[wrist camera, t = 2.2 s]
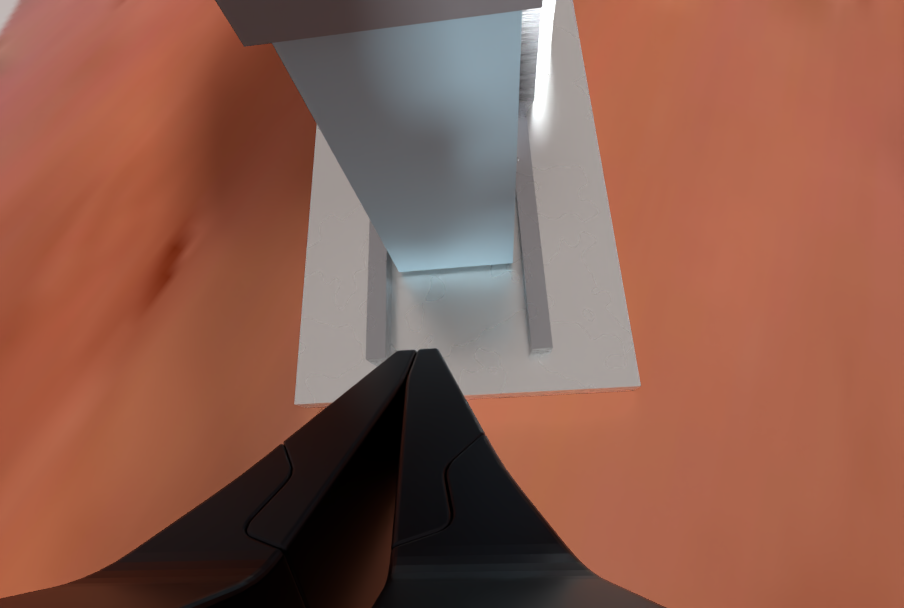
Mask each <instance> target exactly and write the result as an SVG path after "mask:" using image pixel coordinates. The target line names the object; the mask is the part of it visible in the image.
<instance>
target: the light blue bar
mask: <svg viewBox="0 0 904 608" xmlns="http://www.w3.org/2000/svg"><path fill="white" fill-rule="evenodd" d="M215 1H216V2H217V4H218V6H219V7H220V9H221V10H222V12H223V13H224V15H225V17H226V18H227V20H228V21H229V23H230V25H231V26H232V28H233V29H234V31H235V33H236V34H237V36H238V37H239V39H240V41H241V42H242V44H243V45H244V47H245V46H252V45H260V44H268V43H272V44H273V46H274V48H275V49H276V51H277V53H278V55H279V57H280V58H281V60H282V62H283V64H284V66H285V67H286V69H287V71H288V73H289V75H290V76H291V78H292V80H293V82H294V84H295V85H296V87H297V89H298V91H299V93H300V94H301V96H302V98H303V100H304V102H305V103H306V105H307V107H308V109H309V111H310V112H311V114H312V116H313V118H314V120H315V121H316V123H317V125H318V127H319V129H320V130H321V132H322V134H323V136H324V138H325V139H326V141H327V143H328V145H329V147H330V148H331V150H332V152H333V154H334V156H335V157H336V159H337V161H338V163H339V165H340V166H341V168H342V170H343V172H344V174H345V175H346V177H347V179H348V181H349V183H350V185H351V186H352V188H353V190H354V192H355V194H356V195H357V197H358V199H359V201H360V203H361V204H362V206H363V208H364V210H365V212H366V213H367V215H368V217H369V219H370V221H371V222H372V224H373V226H374V228H375V230H376V231H377V233H378V235H379V237H380V239H381V240H382V242H383V244H384V246H385V248H386V249H387V251H388V253H389V255H390V257H391V258H392V260H393V262H394V264H395V266H396V267H397V269H398V271H399V272H407V271H419V270H432V269H444V268H457V267H470V266H482V265H495V264H507V263H513V244H514V217H515V190H516V163H517V136H518V109H519V82H520V55H521V28H522V10H528V9H536V8H542V6H543V0H215Z"/></svg>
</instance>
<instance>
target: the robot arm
mask: <svg viewBox="0 0 904 608" xmlns="http://www.w3.org/2000/svg"><path fill="white" fill-rule="evenodd" d="M0 608H666V607H664V606H662V605H660V604H657V603H655V602H653V601H651V600H649V599H646V598H644V597H642V596H640V595H638V594H635V593H633V592H631V591H629V590H627V589H624V588H622V587H620V586H618V585H616V584H613V583H611V582H609V581H607V580H605V579H603V578H601V577H599V576H598V575H596V574H595V573H593V572H592V571H591V570H590V569H588V568H587V567H586V566H585V565H584V564H583V563H582V562H581V561H580V560H579V559H578V558H577V557H576V556H575V555H574V554H573V553H572V552H571V550H570V549H569V548H568V547H567V546H566V544H565V543H564V542H563V541H562V540H561V538H560V537H559V536H558V535H557V533H556V532H555V531H554V530H553V528H552V527H551V526H550V525H549V523H548V522H547V521H546V520H545V518H544V517H543V516H542V515H541V513H540V512H539V511H538V510H537V508H536V507H535V506H534V505H533V503H532V502H531V501H530V500H529V498H528V497H527V496H526V495H525V493H524V492H523V491H522V490H521V488H520V487H519V486H518V484H517V483H516V482H515V480H514V479H513V478H512V476H511V475H510V474H509V472H508V471H507V470H506V468H505V467H504V465H503V463H502V462H501V460H500V459H499V457H498V455H497V454H496V452H495V450H494V449H493V447H492V445H491V443H490V442H489V440H488V438H487V436H485V433H484V431H483V429H482V428H481V426H480V424H479V422H478V420H477V418H476V417H475V415H474V413H473V411H472V409H471V408H470V406H469V404H468V402H467V400H466V399H465V397H464V395H463V393H462V391H461V389H460V388H459V386H458V384H457V382H456V380H455V379H454V377H453V375H452V373H451V371H450V369H449V368H448V366H447V364H446V362H445V360H444V359H443V357H442V355H441V353H440V351H439V350H438V349H437V348H429V349H419V350H418V351H416V350H399V351H396V352H395V353H393V354H392V355H391V356H390V357H388V358H387V359H386V360H385V361H384V362H382V363H381V364H380V365H379V366H377V367H376V368H375V369H374V370H372V371H371V372H370V373H369V374H367V375H366V376H365V377H364V378H362V379H361V380H360V381H359V382H357V383H356V384H355V385H354V386H352V387H351V388H350V389H349V390H347V391H346V392H345V393H344V394H343V395H341V396H340V397H339V398H338V399H336V400H335V401H334V402H333V403H331V404H330V405H329V406H328V407H326V408H325V409H324V410H323V411H321V412H320V413H319V414H318V415H316V416H315V417H314V418H313V419H311V420H310V421H309V422H308V423H306V424H305V425H304V426H303V427H301V428H300V429H299V430H298V431H296V432H295V433H294V434H293V435H291V436H290V437H289V438H288V439H287V440H285V441H284V445H283V444H280V445H279V446H278V447H276V448H275V449H274V450H273V451H271V452H270V453H269V454H268V455H266V456H265V457H264V458H263V459H261V460H260V461H259V462H257V463H256V464H255V465H254V466H252V467H251V468H250V469H248V470H247V471H246V472H244V473H243V474H242V475H241V476H239V477H238V478H237V479H235V480H234V481H232V482H231V483H230V484H228V485H227V486H225V487H224V488H223V489H221V490H220V491H218V492H217V493H216V494H214V495H213V496H211V497H210V498H208V499H207V500H206V501H204V502H203V503H201V504H200V505H198V506H197V507H195V508H194V509H192V510H191V511H190V512H188V513H187V514H185V515H184V516H182V517H181V518H179V519H178V520H177V521H175V522H174V523H172V524H171V525H169V526H168V527H166V528H165V529H164V530H162V531H161V532H159V533H158V534H156V535H155V536H153V537H152V538H150V539H149V540H148V541H146V542H145V543H143V544H142V545H140V546H139V547H137V548H136V549H135V550H133V551H132V552H130V553H129V554H127V555H126V556H124V557H122V558H121V559H119V560H118V561H116V562H115V563H113V564H111V565H109V566H107V567H105V568H103V569H101V570H100V571H98V572H95V573H93V574H91V575H88V576H86V577H84V578H81V579H78V580H76V581H73V582H70V583H67V584H64V585H60V586H56V587H52V588H47V589H43V590H38V591H33V592H29V593H24V594H19V595H15V596H10V597H6V598H1V599H0Z"/></svg>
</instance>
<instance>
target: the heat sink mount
mask: <svg viewBox="0 0 904 608" xmlns="http://www.w3.org/2000/svg"><path fill="white" fill-rule="evenodd" d="M429 348H437V349H438V350H439V351H440V353H441V355H442V357H443V359H444V360H445V362H446V364H447V366H448V368H449V369H450V371H451V373H452V375H453V377H454V379H455V380H456V382H457V384H458V386H459V388H460V389H461V391H462V393H463V395H464V397H465V399H484V398H503V397H522V396H541V395H560V394H580V393H599V392H618V391H633V390H635V389H637V388H638V387H640V386H641V384H640V378H639V372H638V367H637V361H636V355H635V350H634V344H633V339H632V333H631V327H630V322H629V316H628V310H627V305H626V299H625V293H624V288H623V282H622V276H621V271H620V265H619V260H618V254H617V248H616V243H615V237H614V231H613V226H612V220H611V214H610V209H609V203H608V197H607V192H606V186H605V180H604V175H603V169H602V164H601V158H600V152H599V147H598V141H597V135H596V130H595V124H594V118H593V113H592V107H591V101H590V96H589V90H588V85H587V79H586V73H585V68H584V62H583V56H582V51H581V45H580V39H579V34H578V28H577V22H576V17H575V11H574V5H573V0H543V6H542V8H536V9H528V10H522V28H521V55H520V82H519V109H518V136H517V163H516V190H515V217H514V244H513V263H507V264H495V265H482V266H470V267H457V268H444V269H432V270H419V271H407V272H399V271H398V269H397V267H396V266H395V264H394V262H393V260H392V258H391V257H390V255H389V253H388V251H387V249H386V248H385V246H384V244H383V242H382V240H381V239H380V237H379V235H378V233H377V231H376V230H375V228H374V226H373V224H372V222H371V221H370V219H369V217H368V215H367V213H366V212H365V210H364V208H363V206H362V204H361V203H360V201H359V199H358V197H357V195H356V194H355V192H354V190H353V188H352V186H351V185H350V183H349V181H348V179H347V177H346V175H345V174H344V172H343V170H342V168H341V166H340V165H339V163H338V161H337V159H336V157H335V156H334V154H333V152H332V150H331V148H330V147H329V145H328V143H327V141H326V139H325V138H324V136H323V134H322V132H321V130H320V129H319V127H318V125H317V127H316V139H315V152H314V164H313V177H312V189H311V202H310V215H309V227H308V240H307V252H306V265H305V277H304V290H303V302H302V315H301V327H300V340H299V352H298V365H297V377H296V390H295V402H294V405H298V406H302V407H305V408H312V407H328V406H329V405H330V404H331V403H333V402H334V401H335V400H336V399H338V398H339V397H340V396H341V395H343V394H344V393H345V392H346V391H347V390H349V389H350V388H351V387H352V386H354V385H355V384H356V383H357V382H359V381H360V380H361V379H362V378H364V377H365V376H366V375H367V374H369V373H370V372H371V371H372V370H374V369H375V368H376V367H377V366H379V365H380V364H381V363H382V362H384V361H385V360H386V359H387V358H388V357H390V356H391V355H392V354H393V353H395V352H396V351H399V350H416V351H418V350H419V349H429Z"/></svg>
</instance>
